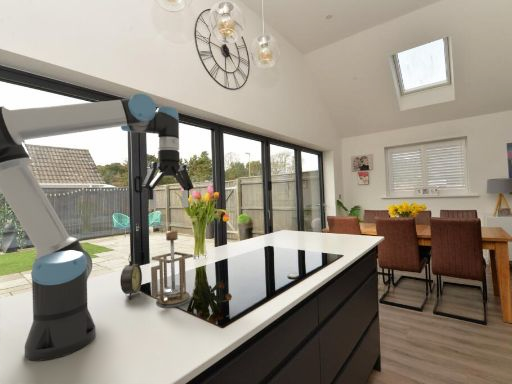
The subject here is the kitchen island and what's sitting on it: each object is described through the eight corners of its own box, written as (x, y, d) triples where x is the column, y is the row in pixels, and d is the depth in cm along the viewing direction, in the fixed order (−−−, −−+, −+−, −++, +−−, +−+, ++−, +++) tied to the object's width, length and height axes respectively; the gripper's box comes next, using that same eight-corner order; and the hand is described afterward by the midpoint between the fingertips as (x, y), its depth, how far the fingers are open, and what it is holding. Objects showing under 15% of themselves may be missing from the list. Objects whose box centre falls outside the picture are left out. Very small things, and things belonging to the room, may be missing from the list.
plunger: (170, 297, 91) (168, 233, 92) (158, 292, 96) (156, 232, 96) (188, 290, 97) (186, 230, 98) (175, 286, 102) (174, 229, 102)
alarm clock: (133, 300, 98) (131, 256, 98) (118, 301, 98) (116, 257, 98) (143, 290, 109) (142, 250, 109) (129, 290, 109) (128, 251, 109)
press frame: (164, 312, 87) (162, 262, 87) (144, 304, 94) (143, 258, 94) (197, 298, 98) (196, 254, 98) (177, 292, 105) (176, 251, 105)
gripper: (142, 144, 85) (143, 210, 85) (201, 153, 105) (202, 206, 104) (130, 147, 89) (131, 210, 89) (189, 155, 109) (190, 206, 109)
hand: (170, 208), depth 97 cm, fingers open, 13 cm apart
